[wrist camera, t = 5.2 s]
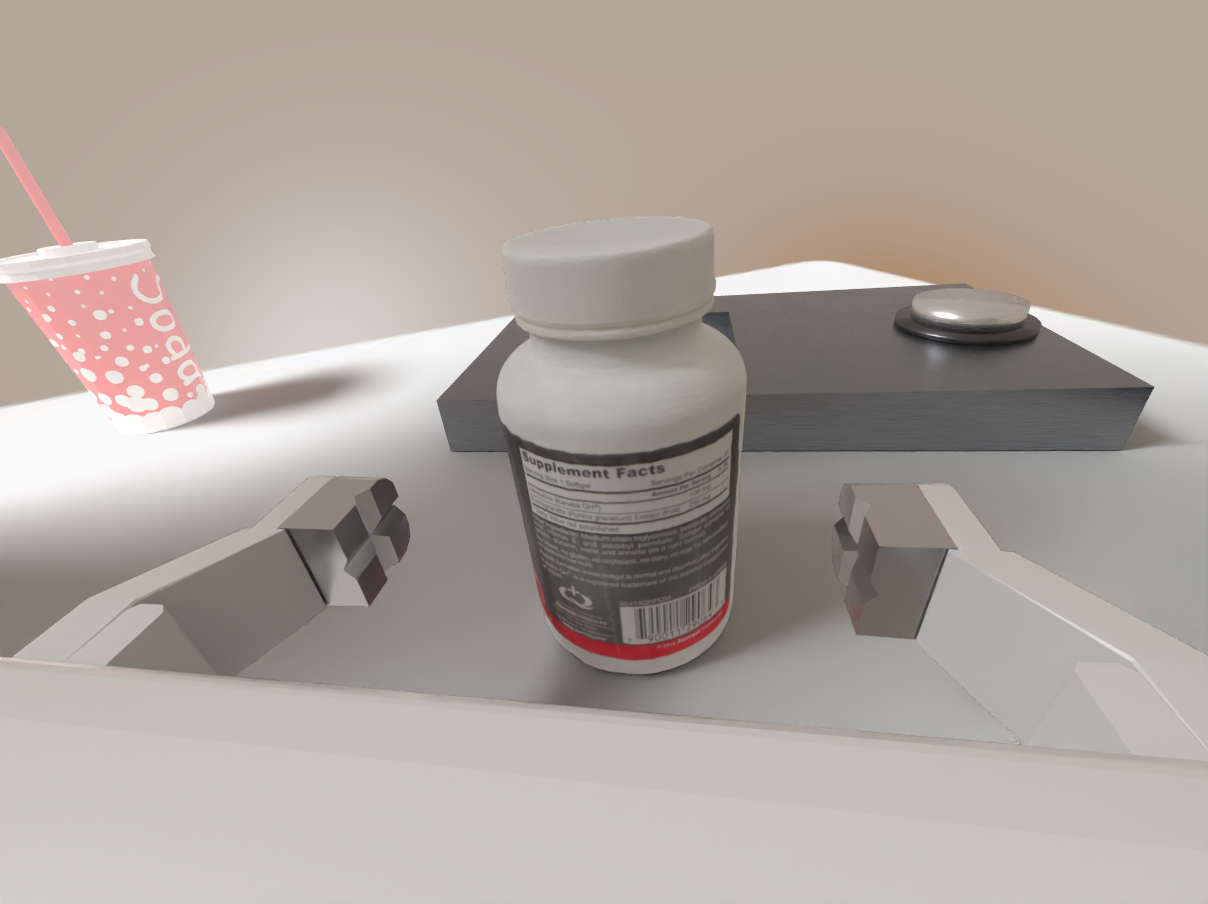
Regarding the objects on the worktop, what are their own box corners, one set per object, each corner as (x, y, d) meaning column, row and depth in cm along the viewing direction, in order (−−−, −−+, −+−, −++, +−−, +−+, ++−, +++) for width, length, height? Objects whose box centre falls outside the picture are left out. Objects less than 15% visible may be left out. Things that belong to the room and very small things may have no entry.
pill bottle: (574, 528, 17) (528, 218, 12) (736, 544, 16) (758, 203, 11) (513, 663, 13) (401, 268, 8) (728, 702, 12) (758, 254, 7)
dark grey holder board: (451, 451, 23) (429, 376, 21) (531, 342, 34) (522, 288, 33) (1121, 450, 18) (1170, 356, 17) (953, 326, 30) (970, 263, 28)
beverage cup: (169, 441, 26) (-31, 118, 19) (71, 443, 27) (-157, 135, 20) (253, 391, 31) (121, 121, 24) (168, 393, 32) (15, 134, 25)
